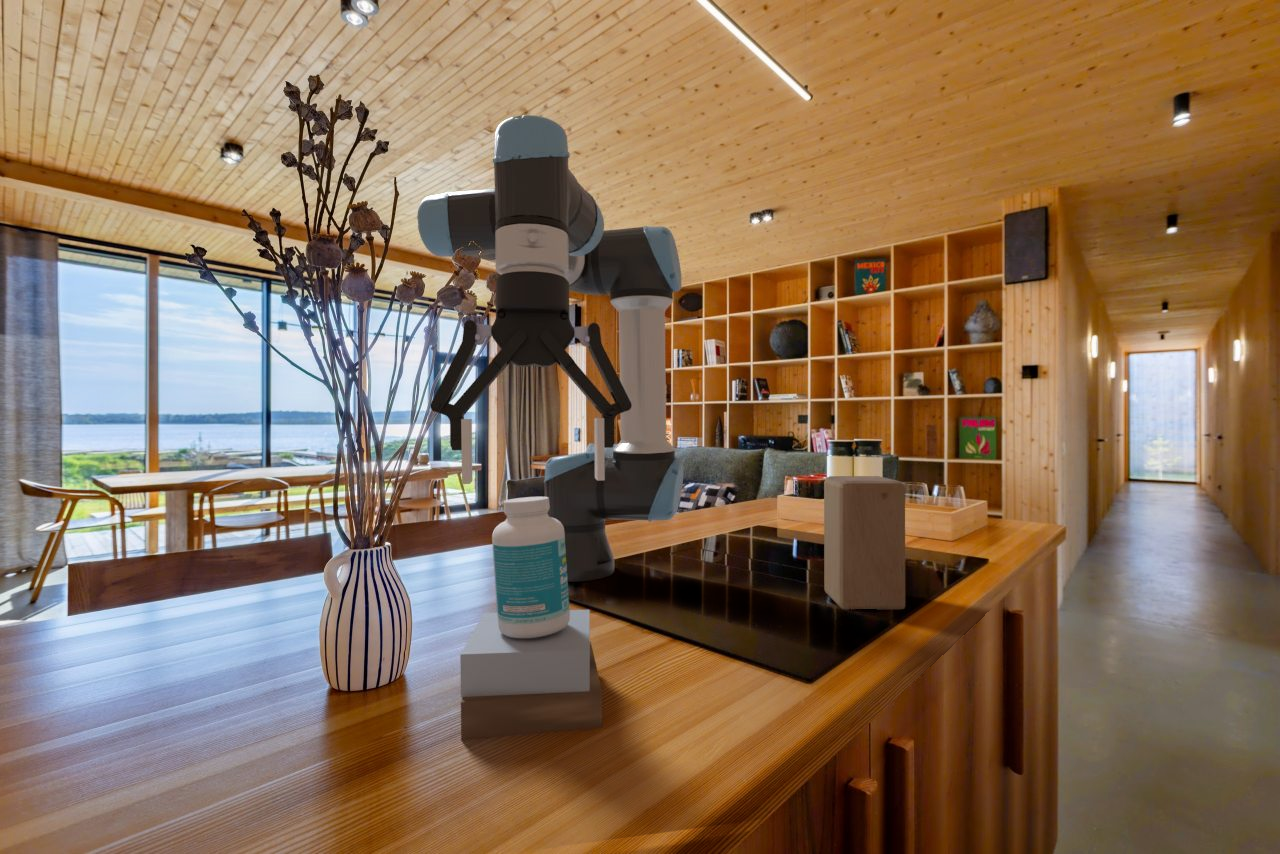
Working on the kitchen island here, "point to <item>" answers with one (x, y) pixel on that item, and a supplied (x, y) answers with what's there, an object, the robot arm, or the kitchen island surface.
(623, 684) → the kitchen island surface
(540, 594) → the pill bottle
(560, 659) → the tower top
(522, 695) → the tower base
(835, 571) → the wooden block
